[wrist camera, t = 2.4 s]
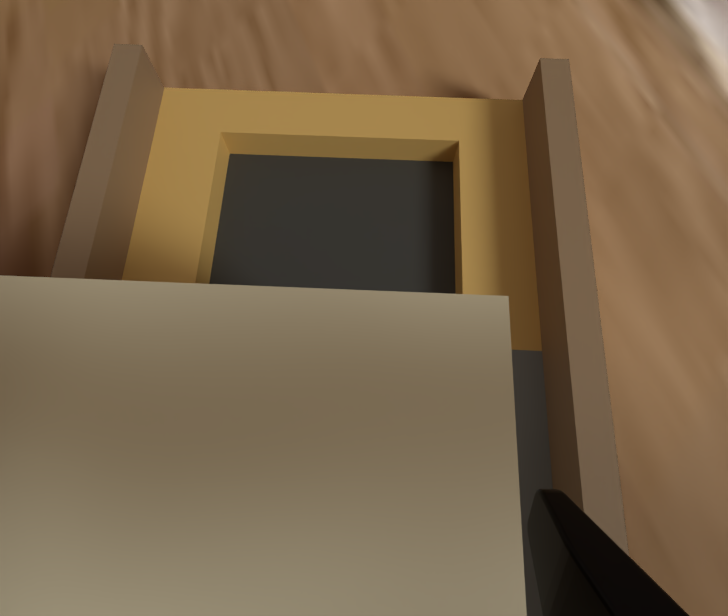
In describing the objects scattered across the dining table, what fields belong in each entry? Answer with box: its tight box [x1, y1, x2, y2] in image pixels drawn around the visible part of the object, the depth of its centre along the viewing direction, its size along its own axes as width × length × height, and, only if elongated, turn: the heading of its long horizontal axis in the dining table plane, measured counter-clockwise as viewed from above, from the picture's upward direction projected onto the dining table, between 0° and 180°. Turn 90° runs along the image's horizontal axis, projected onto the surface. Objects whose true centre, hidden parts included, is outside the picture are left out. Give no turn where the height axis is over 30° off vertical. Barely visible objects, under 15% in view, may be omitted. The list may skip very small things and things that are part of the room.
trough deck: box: [50, 44, 629, 616], centre depth 14 cm, size 27×16×4 cm, turn 178°
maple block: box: [0, 275, 527, 616], centre depth 9 cm, size 6×6×10 cm
